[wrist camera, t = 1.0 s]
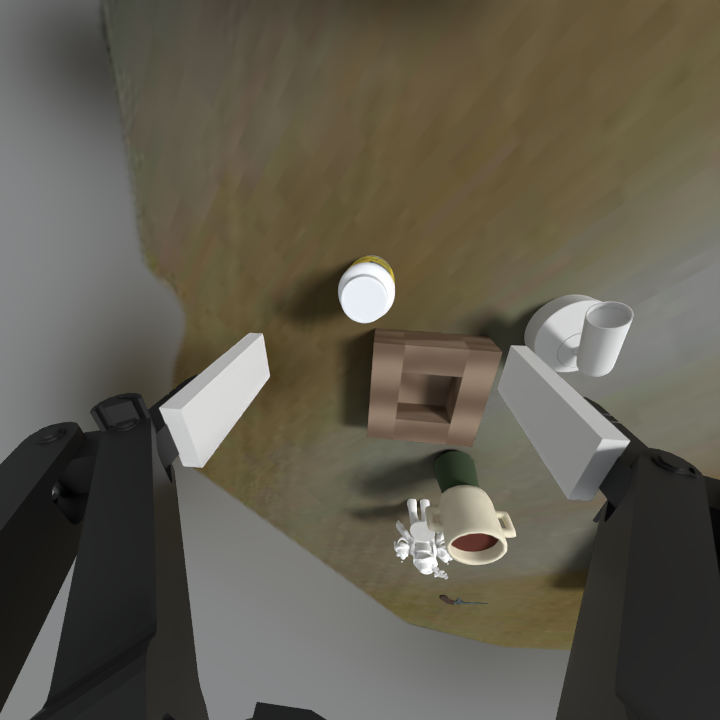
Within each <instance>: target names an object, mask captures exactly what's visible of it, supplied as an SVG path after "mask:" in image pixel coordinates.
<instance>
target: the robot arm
mask: <svg viewBox="0 0 720 720" xmlns="http://www.w3.org/2000/svg"><path fill="white" fill-rule="evenodd" d="M269 377H270V373H269V367H268V362H267V356H266V350H265V344H264V338H263V334H262V333H249V334H247V335H246V336H245V337H244V338H243V339H241V340H240V341H239V342H238V343H237V344H235V345H234V346H233V347H232V348H231V349H229V350H228V351H227V352H226V353H225V354H223V355H222V356H221V357H220V358H219V359H217V360H216V361H215V362H214V363H212V364H211V365H210V366H209V367H208V368H206V369H205V370H204V371H203V372H202V373H200V374H199V375H195V376H193V377H191V378H189V379H187V380H185V381H183V382H182V383H181V384H180V385H178V386H177V387H176V389H173V390H172V391H171V392H170V393H169V395H166V396H165V397H164V398H163V399H161V400H160V401H159V402H157V403H156V404H155V405H153V406H152V407H151V408H150V409H147V407H146V405H145V403H144V400H143V398H142V396H141V395H140V394H137V393H126V394H121V395H117V396H114V397H111V398H108V399H106V400H104V401H102V402H100V403H99V404H97V405H96V406H94V407H93V408H92V410H91V411H90V413H91V415H92V416H93V418H94V420H95V422H96V423H97V425H98V427H99V428H100V430H99V431H92V432H85V433H83V432H82V430H81V428H80V427H79V425H78V424H77V423H74V422H63V423H59V424H54V425H50V426H47V427H44V428H42V429H40V430H39V431H37V432H35V433H34V434H32V435H30V436H29V437H28V438H26V439H25V440H24V441H23V442H22V443H21V444H20V445H19V446H18V447H17V448H16V449H15V450H14V451H13V452H12V453H11V454H10V455H9V456H8V457H7V458H6V459H5V460H4V461H3V462H2V463H1V464H0V712H1V711H2V708H3V706H4V704H5V702H6V700H7V698H8V696H9V694H10V692H11V690H12V688H13V685H14V684H15V682H16V679H17V677H18V675H19V673H20V671H21V669H22V667H23V665H24V663H25V661H26V659H27V657H28V654H29V652H30V651H31V648H32V646H33V644H34V642H35V640H36V638H37V636H38V634H39V632H40V630H41V628H42V626H43V624H44V622H45V620H46V618H47V615H48V613H49V611H50V609H51V607H52V605H53V603H54V600H55V599H56V597H57V595H58V593H59V590H60V589H61V586H62V584H63V582H64V580H65V578H66V576H67V574H68V572H69V570H70V568H71V566H72V564H73V562H74V560H75V557H76V556H77V557H76V562H75V567H74V572H73V577H72V582H71V587H70V592H69V597H68V603H67V608H66V612H65V617H64V623H63V627H62V632H61V638H60V642H59V648H58V652H57V657H56V662H55V667H54V672H53V677H52V682H51V687H50V691H49V695H48V698H47V701H46V703H45V704H44V706H43V708H42V709H41V710H40V711H39V712H38V713H37V714H36V715H34V716H33V717H32V718H31V719H30V720H209V718H208V713H207V709H206V704H205V701H204V698H203V695H202V691H201V688H200V683H199V678H198V671H197V662H196V654H195V646H194V636H193V627H192V619H191V610H190V602H189V593H188V584H187V576H186V568H185V558H184V550H183V541H182V533H181V523H180V515H179V506H178V497H177V489H176V480H175V471H174V468H173V465H172V462H173V460H174V459H175V458H176V457H177V456H178V455H179V457H180V459H181V461H182V464H183V466H189V467H201V468H203V466H204V465H205V464H206V462H207V461H208V460H209V458H210V457H211V456H212V454H213V453H214V452H215V450H216V449H217V448H218V446H219V445H220V443H221V442H222V441H223V439H224V438H225V437H226V435H227V434H228V433H229V431H230V430H231V429H232V427H233V426H234V425H235V423H236V422H237V421H238V419H239V418H240V416H241V415H242V414H243V412H244V411H245V410H246V408H247V407H248V406H249V404H250V403H251V402H252V400H253V399H254V398H255V396H256V395H257V393H258V392H259V391H260V389H261V388H262V387H263V385H264V384H265V383H266V381H267V380H268V379H269ZM498 392H499V393H500V395H501V396H502V398H503V400H504V401H505V403H506V404H507V406H508V407H509V409H510V410H511V412H512V413H513V415H514V417H515V418H516V420H517V421H518V423H519V424H520V426H521V427H522V429H523V431H524V432H525V434H526V435H527V437H528V438H529V440H530V441H531V443H532V444H533V446H534V448H535V449H536V451H537V452H538V454H539V455H540V457H541V458H542V460H543V462H544V463H545V465H546V466H547V468H548V469H549V471H550V472H551V474H552V476H553V477H554V479H555V480H556V482H557V483H558V485H559V486H560V488H561V489H562V491H563V493H564V494H565V496H566V497H567V499H574V500H585V501H592V499H593V498H594V496H595V495H596V493H597V491H598V490H599V489H600V490H601V491H602V493H603V494H604V495H605V496H606V498H607V501H606V502H605V504H604V505H603V507H602V508H601V509H600V511H599V512H598V514H597V515H596V517H595V518H594V519H593V521H594V522H596V523H597V522H598V521H599V525H598V529H597V534H596V539H595V543H594V548H593V552H592V557H591V561H590V566H589V570H588V575H587V580H586V584H585V589H584V593H583V598H582V602H581V607H580V612H579V616H578V621H577V625H576V630H575V634H574V639H573V643H572V648H571V653H570V657H569V662H568V666H567V671H566V675H565V681H564V685H563V689H562V694H561V699H560V703H559V707H558V712H557V717H556V720H720V480H718V479H714V478H710V477H707V476H703V475H702V473H701V472H700V471H699V470H698V469H697V468H695V467H694V466H693V465H692V464H690V463H689V462H687V461H685V460H684V459H682V458H680V457H678V456H676V455H674V454H671V453H669V452H666V451H663V450H659V449H653V448H648V447H647V446H646V445H645V444H644V443H642V442H641V441H640V440H639V439H638V438H637V437H636V436H634V435H633V434H632V433H631V432H630V431H629V430H628V429H626V428H625V427H624V426H623V425H622V424H621V423H618V421H617V420H616V419H615V418H614V417H613V416H610V414H609V413H608V412H607V411H606V410H605V409H604V408H602V407H601V406H600V405H599V404H597V403H595V402H593V401H592V400H590V399H588V398H586V397H582V396H581V395H580V394H578V393H577V392H576V391H575V390H574V389H573V388H572V387H571V386H570V385H569V384H568V383H566V382H565V381H564V380H563V379H562V378H561V377H560V376H559V375H558V374H557V373H555V372H554V371H553V370H552V369H551V368H550V367H549V366H548V365H547V364H546V363H545V362H543V361H542V360H541V359H540V358H539V357H538V356H537V355H536V354H535V353H534V352H532V351H531V350H530V349H529V348H528V347H527V346H515V345H511V347H510V350H509V353H508V357H507V360H506V363H505V367H504V370H503V373H502V376H501V380H500V383H499V386H498ZM52 490H53V491H54V494H53V495H52ZM246 720H326V719H324V718H323V717H321V716H320V715H318V714H316V713H315V712H313V711H312V710H307V709H300V708H294V707H287V706H280V705H273V704H267V703H260V702H257V704H256V707H255V711H254V715H253V718H250V719H246Z"/></svg>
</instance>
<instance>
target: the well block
mask: <svg viewBox="0 0 720 720" xmlns="http://www.w3.org/2000/svg"><path fill="white" fill-rule="evenodd" d="M502 353H503V352H502V351H501V350H500V349H499V348H498V346H497V345H496V344H495V343H494V342H493V341H492V340H491V338H490V337H489V336H476V335H462V334H448V333H434V332H420V331H406V330H392V329H378V328H375V337H374V348H373V362H372V375H371V389H370V403H369V417H368V430H367V437H373V438H384V439H394V440H405V441H416V442H426V443H437V444H447V445H458V446H468V447H472V446H473V442H474V439H475V436H476V433H477V430H478V427H479V424H480V421H481V418H482V415H483V412H484V408H485V405H486V402H487V399H488V396H489V393H490V390H491V387H492V384H493V381H494V377H495V374H496V371H497V368H498V365H499V362H500V359H501V356H502Z"/></svg>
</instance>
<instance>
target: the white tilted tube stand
mask: <svg viewBox="0 0 720 720" xmlns="http://www.w3.org/2000/svg"><path fill="white" fill-rule="evenodd" d="M633 316H634V314H633V311H632V309H631V308H630V307H628V306H627V305H625V304H622V303H619V302H601V301H599V300H596V299H593V298H591V297H588V296H585V295H566V296H562V297H559V298H556V299H554V300H552V301H550V302H548V303H547V304H545V305H544V306H542V307H541V308H540V309H539V310H538V311H537V312H536V313H535V314H534V315H533V316H532V318H531V319H530V321H529V323H528V324H527V327H526V330H525V334H524V342H525V346H527V347H528V348H529V349H530V350H531V351H532V352H534V353H535V354H536V355H537V356H538V357H539V358H540V359H541V360H542V361H543V362H545V363H546V364H547V365H548V366H549V367H550V368H551V369H552V370H553V371H557V372H572V371H577V370H580V371H581V372H582V373H583V374H585V375H588V376H592V377H598V376H603V375H605V374H607V373H608V372H610V371H611V370H612V368H613V366H614V364H615V362H616V359H617V357H618V354H619V352H620V349H621V347H622V344H623V342H624V339H625V337H626V334H627V332H628V329H629V327H630V324H631V322H632V319H633Z"/></svg>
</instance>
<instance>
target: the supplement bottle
mask: <svg viewBox="0 0 720 720" xmlns="http://www.w3.org/2000/svg"><path fill="white" fill-rule="evenodd" d="M338 296H339V300H340V303H341V305H342V308H343V310H344V312H345V313H346V315H347V316H348V317H349V318H351V319H352V320H354V321H356V322H360V323H369V322H373V321H375V320H377V319H378V318H380V317H381V316H383V315H384V314H385V313H386V312H387V311H388V310H389V309H390V307H391V306H392V303H393V301H394V296H395V284H394V275H393V271H392V269H391V267H390V266H389V264H388V263H387V262H386V261H385V260H383V259H382V258H380V257H377V256H372V255H369V256H364V257H361V258H359V259H357V260H356V261H355V262H354V263H353V264H352V265H351V266H350V267H349V268H348V269H347V271H346V272H345V273H344V274H343V276H342V278H341V280H340V282H339V287H338Z"/></svg>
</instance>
